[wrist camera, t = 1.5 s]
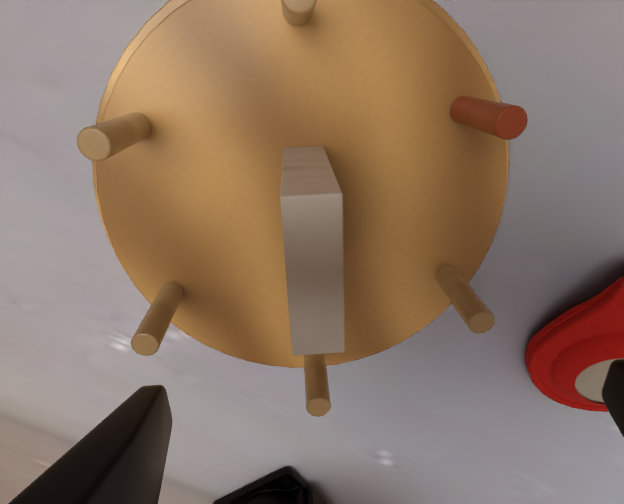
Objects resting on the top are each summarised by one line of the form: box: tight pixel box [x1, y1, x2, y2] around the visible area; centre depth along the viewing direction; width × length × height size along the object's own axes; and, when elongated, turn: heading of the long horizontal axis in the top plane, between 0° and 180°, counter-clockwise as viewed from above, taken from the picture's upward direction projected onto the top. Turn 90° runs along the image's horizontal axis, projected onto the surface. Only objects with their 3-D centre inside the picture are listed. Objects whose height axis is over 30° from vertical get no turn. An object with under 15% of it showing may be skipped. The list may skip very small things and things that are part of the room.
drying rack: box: [77, 0, 527, 416], centre depth 15 cm, size 17×17×7 cm
